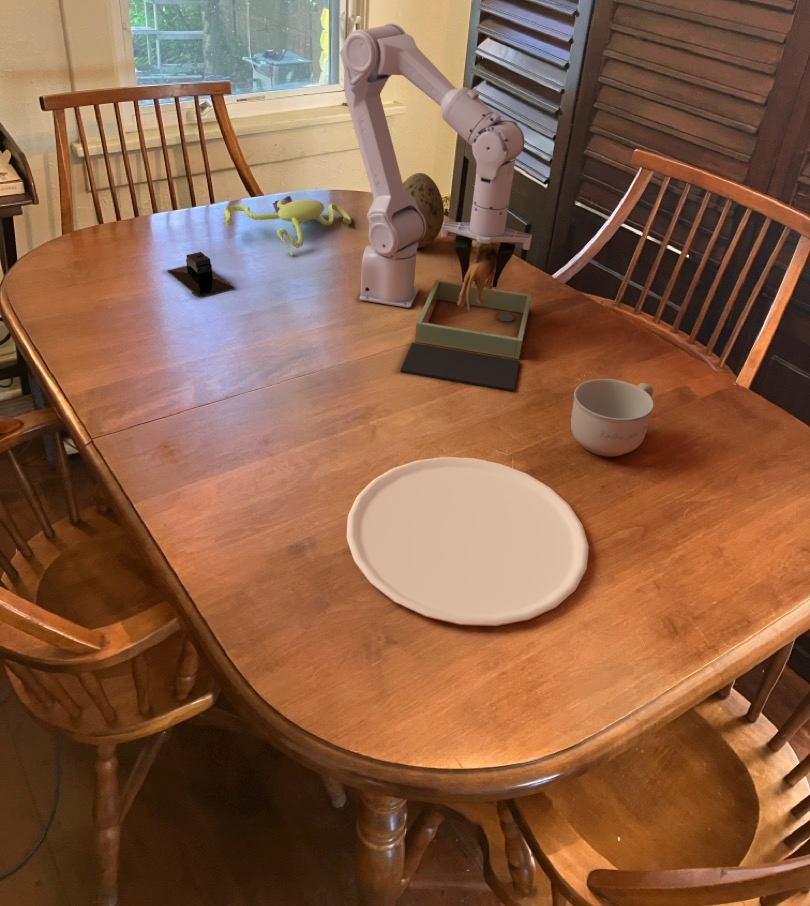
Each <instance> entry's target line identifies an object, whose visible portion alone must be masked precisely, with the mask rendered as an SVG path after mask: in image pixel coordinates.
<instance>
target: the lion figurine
mask: <svg viewBox="0 0 810 906" xmlns="http://www.w3.org/2000/svg"><path fill="white" fill-rule="evenodd" d="M471 247H472V248H473V250H474V252H476V256H475V263H472V264H471V265H469V269H468V271H467V273H466V275H465V278H464V282H462V284H463V287H462V290H461V293H460V295H459V301H458V302H456V304H457V306H460V307H462V306H463V307H464V305H465V304H464V301H463V300H464V296H465V292H466V290H467V304H466V306H467V308H466V309H467V311H468V312H472V305H471V303H470V290H471V286H472V287H477V291H478V293H477V296H476V298H477V302H478V303H479V304H484V303H485V301H484V299H482V298H481V296H482V292H483V289H484V287H485V288H486V289H493V287H492V284H493V279H494V275H495V270H496V263H497V254H498V249H499V247H500V244H496V243H488V244H486V243H480V242H477V241H476V240H472V246H471Z"/></svg>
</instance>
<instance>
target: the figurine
mask: <svg viewBox="0 0 810 906" xmlns="http://www.w3.org/2000/svg"><path fill="white" fill-rule="evenodd" d="M272 207H273V208H274V211H275V212H271V213H254V212H252V211H251V209H250V207H249V206H248V205H245V204H234V205H229V206H226V207H224V209H223V214H224V216H225V219H224V220H223V226H224V227H225V228H228V226H230V224H231V223H232V212H244V214H245V215H246V216H247V217H248V218H249V219H252V220H256V221H265V220H268V221H269V220H278V219H281V220H282V221H285V222H290V223H292V227H293V228H295V231H296V234H297V241H296V240H294V239H293V237H292V235H291V234H290V232H288V230H286V229H285V228H279V229H278V230H276V234H277V236H278V237H279V239H280V240H281V241H282V243H283V244H284V245H285V247H286V248H287V250H288V252H289V254H290V255H291V256H294V255H293V251H292V249H291V248H290V246H289V245H288V242H287V241H286V239H285V238H284V236H283V235H285V236H286V238H287V239H288V240H289V242H290V243H291V245H292V246H293V247H294V248H296V249H299V248H301V247H303V245H304V232H303V229H302V226H301V223H302V222H304V223H307V222H308V221H311V220H313V219H314V220H316V221H318V222H319V223H320V224H321V225H323V226H326V227H329V226H330V225H332V224H333V222H334V218H335V216H334V215H335V214H334V211H336V212H337V213H339V215H340V216H341V217H343V218H342V222H343V223H344V224H345V225H347V226H349V225H351V224H352V218H351V217H350V215H349V214H348V213H347V211H345V210H344V209H343V207H341V206H340V205H338V204H336V203H330V204H329V205H328V207H327V214H328V220H327V219H325V218H324V217H323V216H322V215H321V214H322V213H324V211H325V205H324V204H323V203H322V202H321V201H319V200H316V199H312V198H311V199H310V198H309V199H306V198H305V199H298V200H293V199H292V197H291V196H290V195H288V196H286V197H284V198H282V199H278V200H276V201H274V202H273V203H272Z"/></svg>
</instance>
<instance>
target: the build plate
mask: <svg viewBox="0 0 810 906" xmlns="http://www.w3.org/2000/svg"><path fill="white" fill-rule="evenodd" d="M185 261H186V263H185V264H186V265H184V266H180V267H176V268H171V269H168V270H167V273H168V274H169V275H170V276H172V277H173V278H174V279H175V280H177V281H178V282H179V283H180V284H182V285H183V286H184V287H186V289H187V290H189V291H190V292H191V294H192V295H193V296H194V297H196V298H204V297H208V296H212V295H216V294H220V293H223V292H227V291H230V290H235V286H234V285H232V284H231V283H230V282H229V281H227V280H226V279H224V278H223V277H222V276H220V275H219V274H218V273H217V272H215V271H214V270H213V265H212V262H211V258H210V257H208V256H207V255H205V254H204V253H203V252H201V251H198V252H193V253H190V254H186V259H185Z"/></svg>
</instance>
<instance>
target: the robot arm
mask: <svg viewBox="0 0 810 906" xmlns="http://www.w3.org/2000/svg"><path fill="white" fill-rule="evenodd" d="M339 55H340V59H341V62H342V66H343V69H344V76H343V77H344V78H343V79H344V81H343V92H344V96H345V99H346V103H347V107H348V110H349V114H350V118H351V122H352V125H353V129H354V133H355V136H356V139H357V144H358V147H359V150H360V151H359V152H360V154H361V158H362V162H363V165H364V170H365V172H366V176H367V180H368V184H369V187H370V191H371V194H372V198H373V200H372V203H371V204H370V207H369V210H368V212H367V214H366V218H367V222H368V240H369V244H370V245H366V247H365V248H364V251H363V255H362V260H361V273H360V274H361V277H360V296H359V300H360V301H364V302H369V303H370V302H371V303H376V304H383V305H388V306H395V307H401V308H406V309H407V308H409V309H410V308H412V305H413V303H414V301H415V299H416V297H417V295H418V293H419V290H420V289H419V287H418V286H415V278H416V265H417V252H418V249H419V248H418V242H419V240H421V239H422V238H423V237H424V235H425V233H426V221H425V218H424V216H423V214H422V213H421V212H420V210H419V209H418V206H417V203H416V199H415V198H414V197H412V196H411V195H410V194H408V193H407V192H406V191H405V190H404V186H403V183H404V182H403V179H402V175H401V171H400V167H399V164H398V160H397V155H396V153H395V148H394V143H393V139H392V136H391V132H390V129H389V125H388V122H387V116H386V114H385V109H384V106H383V101H382V98H381V93H382V91H383V90H384V87H385V85H386V84H387V82H388V80H389V78H390V77H391V76H401V77H404V78H405V79H406V80H408V81H409V82H410V83H412V85H414V86H415V87H416V88H417V89H419V90H420V91H421V92H423V94H425V95H426V96H427V97H428V98H430V99H431V101H433V102H434V103H436V104H437V105H438V106H439V107H440V109H441V110H440V111H441V119H442V120H443V121H444V122H445V123H446V124H447V125H448V126H450V127H451V129H453V130H454V131H455V132H456V133H457V134H458V135H459V136H460V137H461V138H462V139H463V140H464V141H465V142H467V143H468V145H470V146H471V152H472V155H473V157H474V160H475V162H476V169H475V180H474V187H473V188H474V189H473V196H472V203H471V213H470V220H469V222H460V221H458V222H457V221H444V220H443V225H442V228H441V230H440V237H441V238H448V237H451V238H455V239H454V244H453V249H454V251H455V253H456V256H457V258H458V262H459V266H460V270H461V283H464V278H465V275H466V273H467V271H468V269H469V267H470V258H471V252H472V247H473V246H472V240H476V241H477V242H480V243H486V244H488V243H496V244H499V245H500V247H499V249H498V254H497V263H496V269H495V275H494V278H493V281H492V283H491V286H492V288H497V287H498V283H499V279H500V277H501V274H502V272H503V271H504V269H505V268H506V266H507V264H508V263H509V261H510V260H511V259H512V257H513V255H514V252H515V249H516V247H517V248H522V250H524V251H525V250H526V251H530V248H531V243H532V238H533V234H531V233H527V232H522V231H518V230H515V229H512V228H508V227H506V225H507V220H508V219H507V218H508V212H509V206H510V199H511V193H512V186H513V180H514V173H515V167H516V166H515V165H516V158H517V157H518V156H520V155H521V154H522V152H523V150H524V147H525V134H524V131H523V130H522V128H521V127H520V126H519V125H518V122H517V121H515V120H513V119H510V118H509V119H508V118H505V119H503V118H502V115H501V114H500V113H499V112H494V111H493V110H492V109H491V108H490V106H489V105H487V104H486V103H484V101H483V100H481V99H480V98H479V96H480V93H479V92H478V91H477V90H476V89H474V88H473V89H470V88H469V87H459V88H457V87H455V86H454V84H453V83H452V82H451V81H450V80H449V79H448V78H447V77H446V76H445V75H444V74H443V73H442V72H441V71H440V70H439V69H438V67H436V66H435V64H434V63H433V62H432V61H431V60H430V59H429V58H428V57H427V56H426V54H424V53H423V52H422V51H421V50H420V49H419V48H418V46H417V44H416V41H415V39H414V37H413V36H412V35H410V34H408V33H406V32H405V30H404V29H403V27H401V26H400V25H399V24H395V23H388V24H385V25H382V26H377V27H371V28H365V29H362V28H361V29H355V30H353V31H351V32H349V34H348V36H347V37H346V39H345V41H344V43H343V45H342V47H341V49H340V51H339ZM394 212H395V213H394Z"/></svg>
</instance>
